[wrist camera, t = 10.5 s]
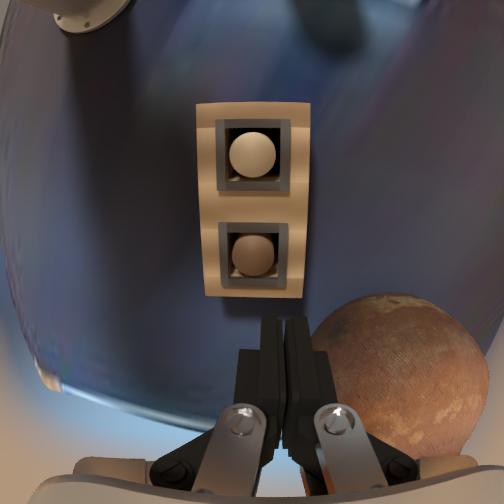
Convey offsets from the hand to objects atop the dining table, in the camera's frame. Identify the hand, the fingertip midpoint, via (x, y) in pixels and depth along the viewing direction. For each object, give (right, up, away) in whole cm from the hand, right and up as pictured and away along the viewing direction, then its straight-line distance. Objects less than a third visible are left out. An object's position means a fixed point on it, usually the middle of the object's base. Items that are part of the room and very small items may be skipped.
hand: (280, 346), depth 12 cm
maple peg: (-1, +14, +21) cm, 25 cm away
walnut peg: (-1, +6, +24) cm, 25 cm away
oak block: (-1, +10, +23) cm, 25 cm away
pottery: (+15, -9, +30) cm, 34 cm away
